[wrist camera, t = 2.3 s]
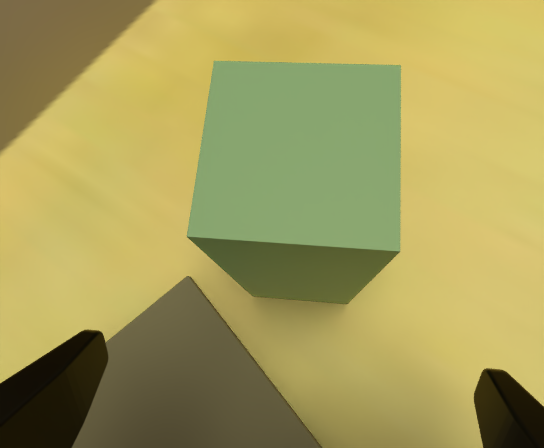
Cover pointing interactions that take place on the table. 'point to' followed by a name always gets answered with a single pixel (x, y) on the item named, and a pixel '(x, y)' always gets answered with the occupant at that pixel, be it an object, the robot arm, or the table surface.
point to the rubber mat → (186, 385)
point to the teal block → (300, 177)
